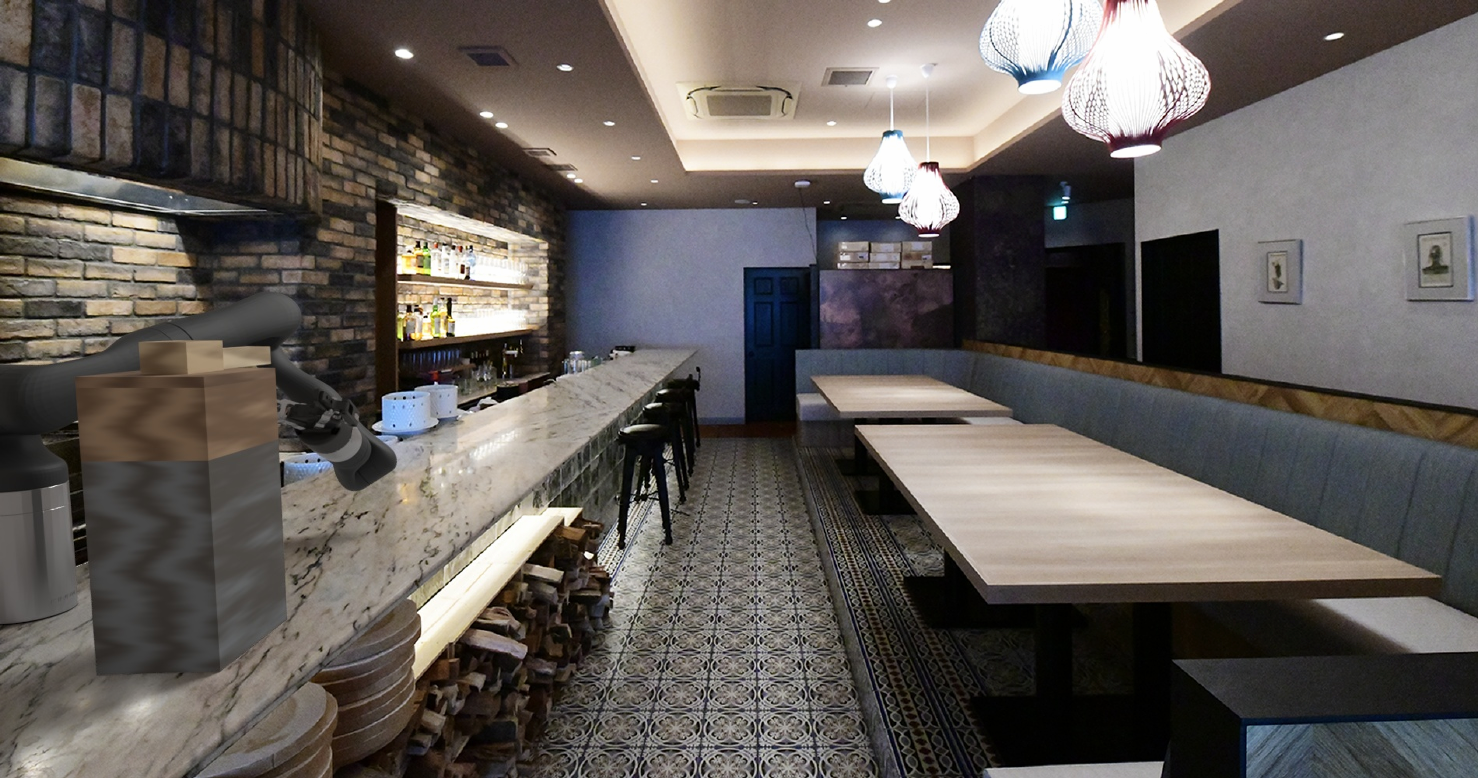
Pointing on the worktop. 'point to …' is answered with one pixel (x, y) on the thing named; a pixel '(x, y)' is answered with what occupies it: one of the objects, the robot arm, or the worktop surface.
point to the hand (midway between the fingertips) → (285, 393)
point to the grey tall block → (181, 517)
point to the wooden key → (197, 356)
